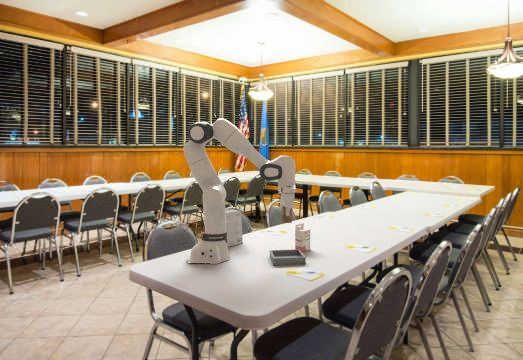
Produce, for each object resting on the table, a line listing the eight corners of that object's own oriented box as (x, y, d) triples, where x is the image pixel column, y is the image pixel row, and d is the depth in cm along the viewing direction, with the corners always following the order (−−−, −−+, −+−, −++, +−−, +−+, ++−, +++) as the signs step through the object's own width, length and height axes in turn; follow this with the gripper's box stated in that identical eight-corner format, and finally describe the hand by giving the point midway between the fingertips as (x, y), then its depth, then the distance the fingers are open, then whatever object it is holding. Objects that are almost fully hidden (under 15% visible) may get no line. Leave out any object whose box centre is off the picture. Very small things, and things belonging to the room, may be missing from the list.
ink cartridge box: (302, 252, 221) (302, 226, 219) (295, 251, 224) (294, 225, 223) (310, 249, 227) (310, 223, 226) (303, 248, 230) (303, 222, 229)
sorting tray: (273, 265, 197) (273, 258, 197) (269, 256, 213) (269, 250, 212) (305, 264, 198) (305, 257, 198) (299, 255, 214) (299, 249, 214)
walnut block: (282, 222, 202) (282, 207, 201) (281, 221, 206) (281, 205, 206) (291, 222, 202) (291, 206, 201) (290, 221, 207) (290, 205, 206)
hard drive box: (234, 241, 250) (234, 209, 248) (243, 243, 244) (242, 210, 243) (215, 246, 239) (214, 212, 237) (223, 248, 233) (222, 214, 232)
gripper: (277, 185, 213) (277, 211, 214) (283, 189, 192) (283, 218, 194) (289, 185, 213) (289, 211, 214) (296, 189, 193) (296, 218, 194)
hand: (286, 214), depth 204 cm, fingers closed on walnut block, 4 cm apart
